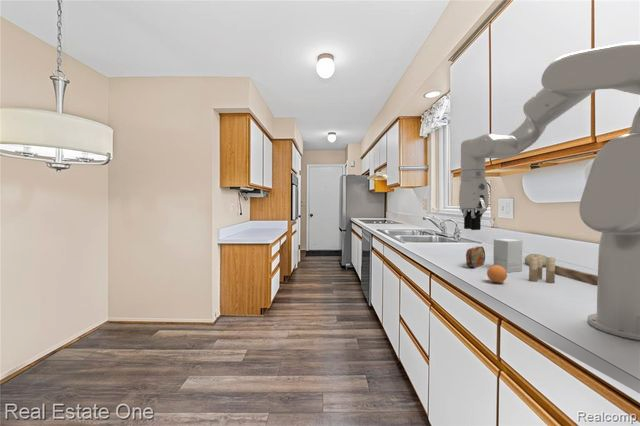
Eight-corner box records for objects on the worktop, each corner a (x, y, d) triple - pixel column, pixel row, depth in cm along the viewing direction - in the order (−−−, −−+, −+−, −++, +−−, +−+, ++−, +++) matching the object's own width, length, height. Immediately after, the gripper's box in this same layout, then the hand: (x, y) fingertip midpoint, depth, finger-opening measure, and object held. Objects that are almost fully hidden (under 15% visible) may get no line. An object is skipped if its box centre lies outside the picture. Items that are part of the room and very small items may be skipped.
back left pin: (543, 279, 106) (544, 255, 106) (537, 279, 106) (538, 256, 106) (538, 277, 109) (538, 254, 108) (532, 277, 108) (532, 254, 108)
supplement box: (522, 271, 118) (523, 240, 117) (507, 272, 116) (507, 241, 116) (507, 267, 125) (508, 238, 125) (492, 268, 124) (493, 238, 123)
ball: (511, 284, 100) (511, 267, 100) (494, 285, 100) (495, 267, 99) (498, 279, 106) (498, 263, 106) (483, 280, 106) (483, 264, 105)
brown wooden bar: (606, 286, 96) (606, 277, 96) (601, 286, 96) (602, 277, 96) (551, 271, 116) (551, 264, 116) (548, 272, 116) (548, 264, 116)
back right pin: (556, 282, 101) (556, 258, 101) (550, 283, 101) (550, 258, 101) (550, 281, 104) (550, 257, 103) (544, 281, 104) (544, 257, 103)
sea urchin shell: (539, 258, 134) (548, 248, 128) (547, 273, 128) (557, 263, 123) (518, 258, 135) (526, 248, 129) (525, 273, 129) (534, 263, 123)
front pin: (538, 281, 103) (539, 257, 103) (532, 281, 103) (533, 257, 103) (533, 279, 106) (533, 256, 105) (527, 279, 106) (527, 256, 105)
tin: (472, 269, 122) (472, 249, 122) (464, 268, 125) (464, 248, 124) (485, 264, 132) (486, 245, 132) (478, 263, 134) (478, 244, 134)
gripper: (499, 173, 93) (499, 231, 93) (468, 177, 109) (467, 226, 110) (477, 173, 92) (477, 232, 93) (449, 177, 108) (448, 227, 109)
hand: (472, 228), depth 101 cm, fingers open, 3 cm apart
